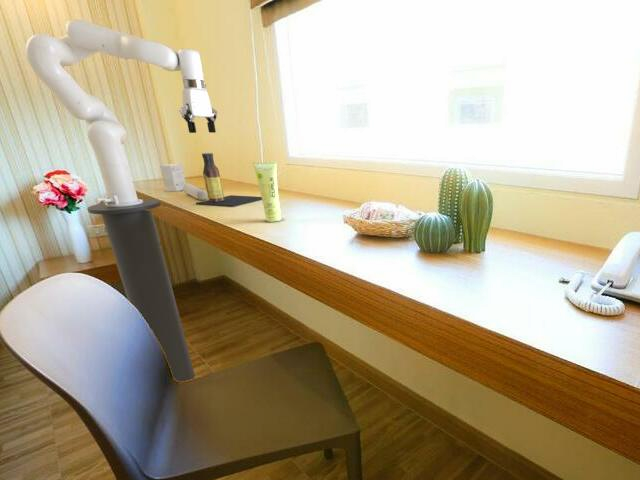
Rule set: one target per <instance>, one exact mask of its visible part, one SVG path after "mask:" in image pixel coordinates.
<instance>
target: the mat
mask: <svg viewBox="0 0 640 480" xmlns="http://www.w3.org/2000/svg"><path fill="white" fill-rule="evenodd" d="M258 201H262V197H261V196H254V195H253V196H251V195H232V194H231V195H230V194H229V195H226V196H224V201H221V202H210V200H209V199H207V200H201V201H199V202H195V205H199V206H215V207H229V208H233V207H237V206H241V205H246V204H249V203H253V202H258Z"/></svg>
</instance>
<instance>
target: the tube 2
mask: <svg viewBox="0 0 640 480" xmlns="http://www.w3.org/2000/svg"><path fill="white" fill-rule="evenodd" d="M252 166H253V168H254V171H255V175H256V180H257V184H258V187H259V191H260V197H262V200H261V201H262V206H263V210H264V216H265V221H266V222H268V223H274V222H280V221H281V220H282V216H281V214H282V213H281V206H280V198H279V197H280V196H279V188H278V176H277V161H273V160H272V161H253V162H252Z"/></svg>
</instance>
